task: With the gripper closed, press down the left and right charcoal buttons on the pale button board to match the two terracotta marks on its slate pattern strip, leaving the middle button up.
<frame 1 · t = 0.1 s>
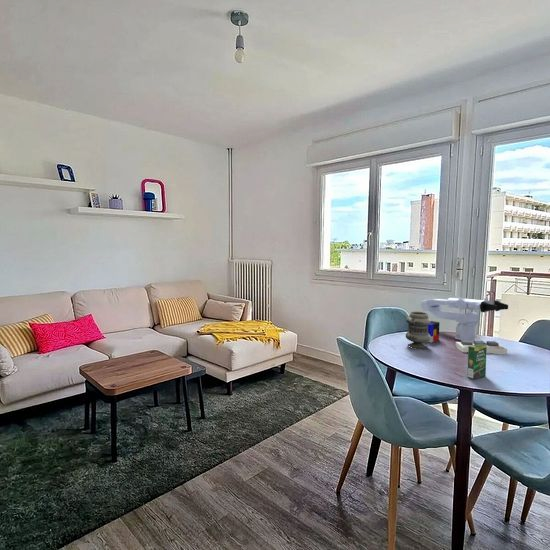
hand: (502, 307, 176), 22 cm above the table, tool horizontal, fingers open, 7 cm apart
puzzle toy: (425, 340, 198), on the table
coffee box: (476, 377, 141), on the table
left button: (466, 343, 180), point 3 cm above the table, slide at 0.0 cm
right button: (492, 344, 178), point 3 cm above the table, slide at 0.0 cm
button board: (480, 350, 178), on the table
middle button: (479, 344, 179), point 3 cm above the table, slide at 0.0 cm
stone vase: (417, 347, 184), on the table
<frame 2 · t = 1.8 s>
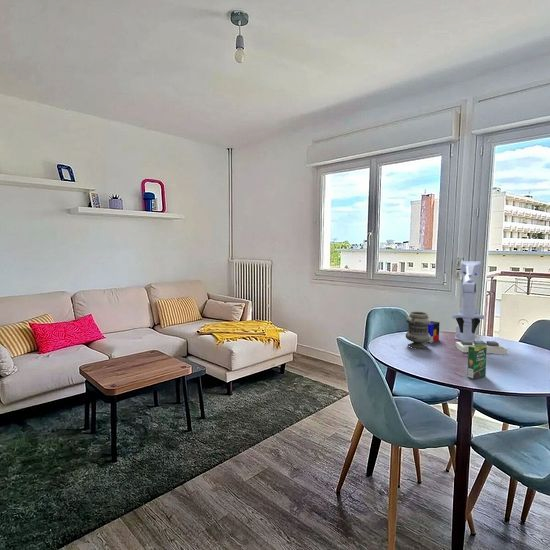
hand: (467, 332, 179), 8 cm above the table, tool pointing down, fingers open, 5 cm apart
nothing on the table moved.
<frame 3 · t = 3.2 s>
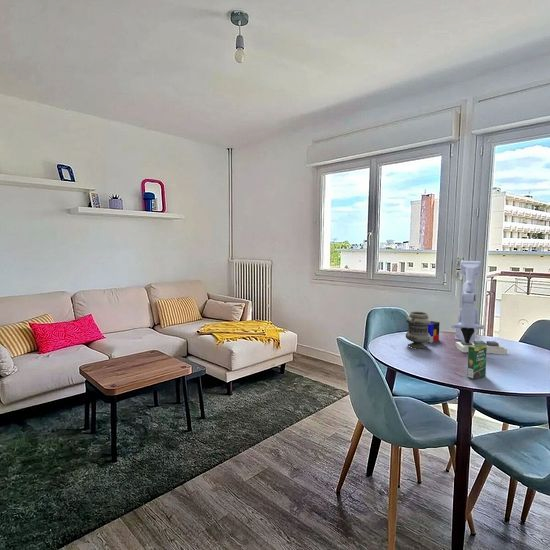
hand: (466, 342, 179), 3 cm above the table, tool pointing down, fingers closed, pressing on left button
left button: (466, 344, 180), point 2 cm above the table, slide at 0.6 cm, touching gripper
everything else where it was.
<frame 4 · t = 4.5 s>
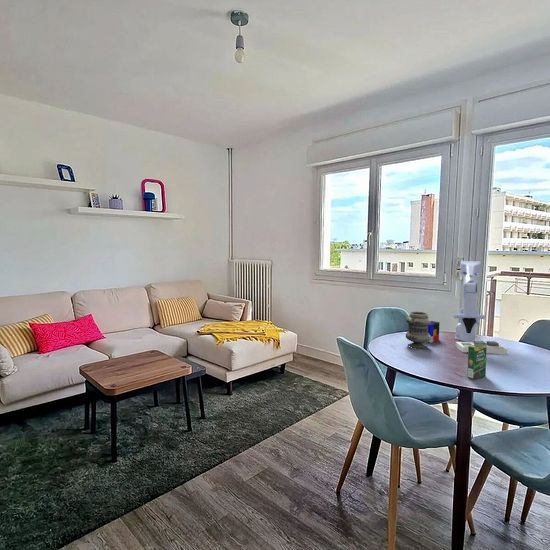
hand: (468, 332, 179), 8 cm above the table, tool pointing down, fingers closed
left button: (466, 346, 180), point 1 cm above the table, slide at 1.4 cm
everything else where it was.
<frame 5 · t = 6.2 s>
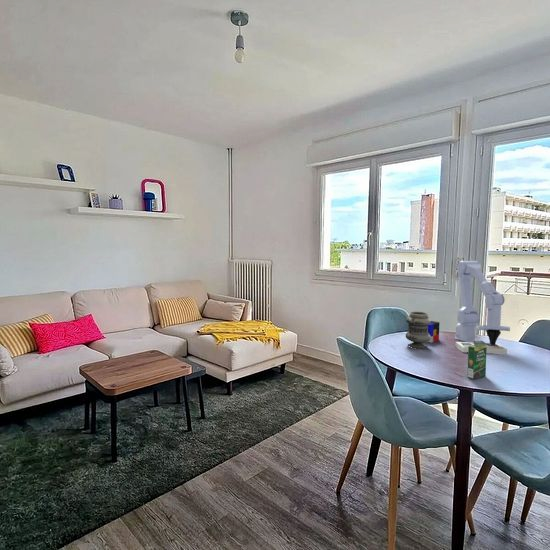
hand: (492, 344, 178), 3 cm above the table, tool pointing down, fingers closed, pressing on right button
right button: (492, 346, 178), point 2 cm above the table, slide at 1.1 cm, touching gripper
everything else where it was.
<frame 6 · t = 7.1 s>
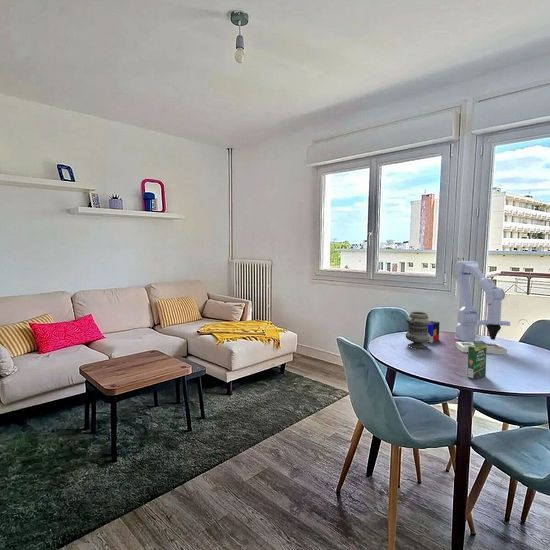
hand: (492, 339, 178), 6 cm above the table, tool pointing down, fingers closed
right button: (492, 347, 178), point 1 cm above the table, slide at 1.4 cm
everything else where it was.
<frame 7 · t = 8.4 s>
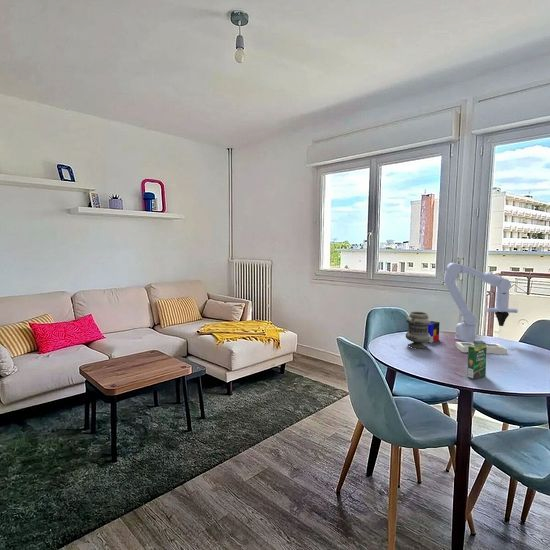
hand: (501, 325, 190), 9 cm above the table, tool pointing down, fingers closed
nothing on the table moved.
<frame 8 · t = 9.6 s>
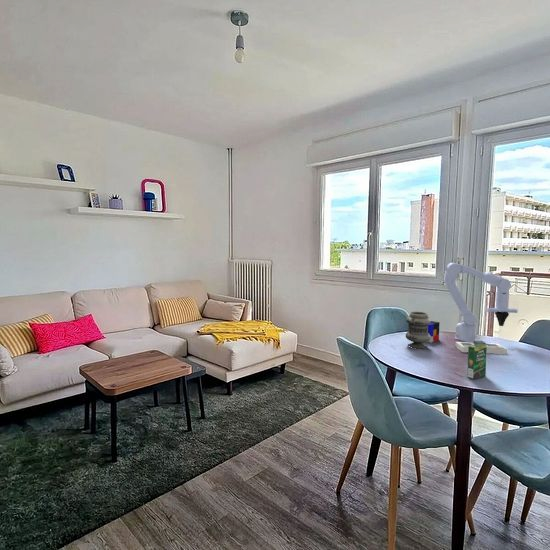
hand: (501, 325, 190), 9 cm above the table, tool pointing down, fingers closed
nothing on the table moved.
at the end: left button slide at 1.4 cm; right button slide at 1.4 cm; middle button slide at 0.0 cm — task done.
